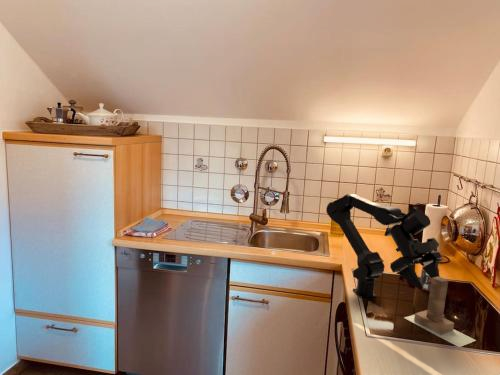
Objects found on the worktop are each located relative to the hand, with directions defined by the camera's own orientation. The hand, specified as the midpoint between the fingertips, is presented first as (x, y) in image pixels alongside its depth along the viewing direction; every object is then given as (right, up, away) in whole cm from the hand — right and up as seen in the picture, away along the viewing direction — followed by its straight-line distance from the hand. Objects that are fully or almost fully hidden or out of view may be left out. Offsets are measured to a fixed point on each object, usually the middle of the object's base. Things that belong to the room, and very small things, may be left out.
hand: (430, 286), depth 117 cm
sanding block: (+1, -12, 0) cm, 12 cm away
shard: (-15, -11, +9) cm, 21 cm away
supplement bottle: (+13, -9, +31) cm, 35 cm away
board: (+1, -13, -2) cm, 13 cm away
